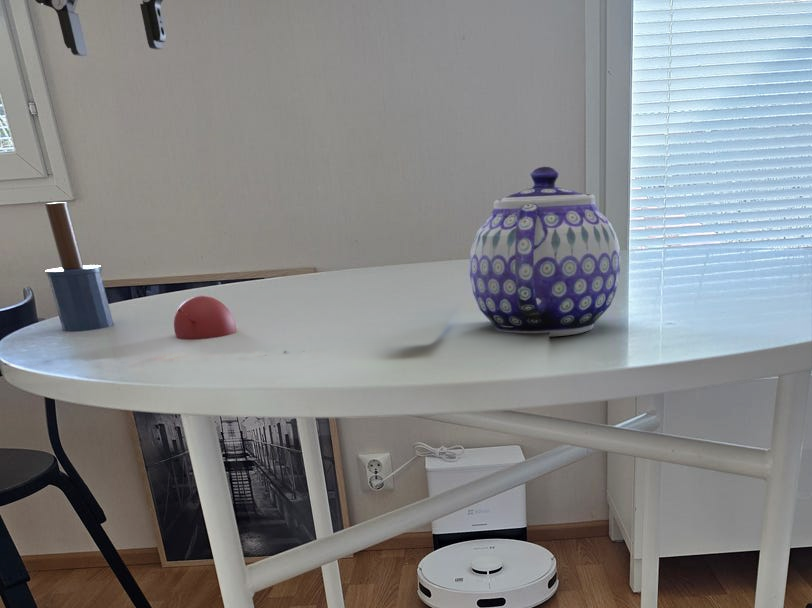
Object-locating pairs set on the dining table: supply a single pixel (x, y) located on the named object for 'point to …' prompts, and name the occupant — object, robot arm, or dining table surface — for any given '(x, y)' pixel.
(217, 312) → the fruit
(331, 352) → the dining table surface
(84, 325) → the tin
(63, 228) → the peg on round base
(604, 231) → the teapot
